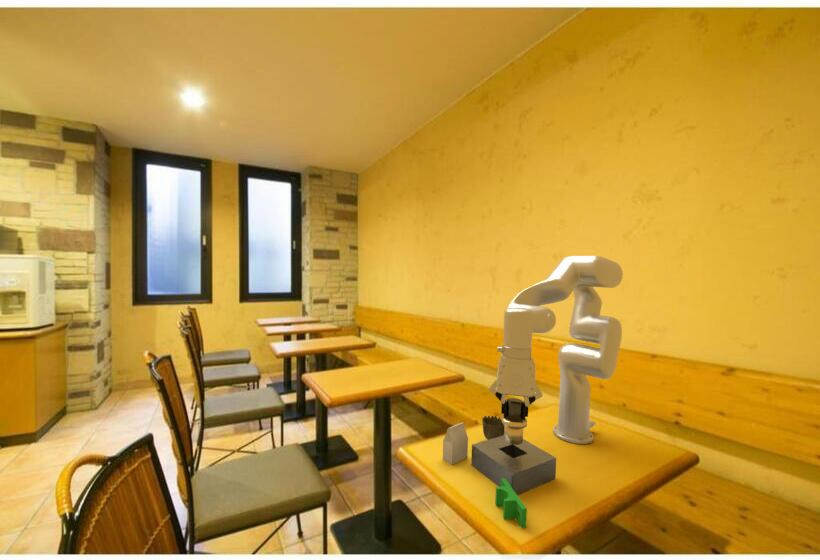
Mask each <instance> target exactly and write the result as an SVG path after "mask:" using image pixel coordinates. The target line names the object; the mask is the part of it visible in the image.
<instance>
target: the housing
mask: <svg viewBox="0 0 820 560" xmlns="http://www.w3.org/2000/svg"><path fill="white" fill-rule="evenodd" d="M470 461H471V463H470V464H471V466H472V467H473V468H474V469H476V470H477V471H478V472H480V473H481V474H482V475H483V476H485V477H486V478H487V479H489V481H491V482H493V483H494V484H495V485H496V486H497V487H501V479H503V478H505V479H506V480H507V482H508V483H509V484H510V486H511V487H512V489H513V490H514V491H515V493H516V494H517V496H519V495H522V494H525V493H526V492H529V491H532V490H533V489H536V488H538V487H540V486H543V485H545V484H548V483H550V482H553V481H555V480H556V477H557V476H556V475H557V474H556V472H557V471H556V470H557V457H555V456H554V455H552V454H551V453H549V452H547V451H546V450H544V449H542V448H540V447H538V446H537V445H534V444H533V443H531V442H529V441H528V440H526V439H524V438H523V443H522V444H520V445H513V444H509V443H507V442H506V441H505V440H504V435H503V436H499V437H496V438H493V439H489V440H487V439H486V440H483V441H480V442H476V443H473V444H471V460H470Z"/></svg>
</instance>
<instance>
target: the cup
mask: <svg viewBox="0 0 820 560" xmlns="http://www.w3.org/2000/svg"><path fill="white" fill-rule="evenodd" d="M481 419H482V420H481V422H482V432H483V436H484V437H485V439H486V440H489V439H493V438H496V437H499V436H503V435H504V428H505V425H503V424H502V422H501V419H502V418H501V417H500V416H498V417H497V415H491V416H490V415H488V416H486V415H484V416H483V417H482V418H481Z"/></svg>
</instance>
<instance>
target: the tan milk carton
mask: <svg viewBox="0 0 820 560" xmlns="http://www.w3.org/2000/svg"><path fill="white" fill-rule="evenodd" d="M468 444H469V438H468V433H467V429H466V427H465V422H460V423H457V424H455V425H453V426H450V427H448V428H447V430H446V433H445V435H444V437H443V439H442V460H443V461H444V462H446V463H448V464H449V465H452V466H453V465H455V464H457V463H458V462H461V461H462V460H464V459H467V458H468V453H469V451H468V450H469V449H468V448H469V445H468Z"/></svg>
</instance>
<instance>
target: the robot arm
mask: <svg viewBox="0 0 820 560" xmlns="http://www.w3.org/2000/svg"><path fill="white" fill-rule="evenodd" d="M623 277H624V273H623V270H622V266H620V264H619V263H618V262H616V261H614V260H611V259H608V258H607V257H603V256H599V255H568V256H565V257H563V258H562V259H561V260H560V261H559V262H558V263H557V264H556V265H555V267H554V268H553V269H552V271H551V272H550V273H549V274H548V275H547V276H546V278H545V279H544V280H542V281H540V282H537V283H535V284H532V285H531V286H528V287H527V288H525V289H523V290H522V291H519V292H518V293H517V294H516V295H515V296H514V297H513V298H512V300H510V302H509V304H508V306H507V307H506V309H504V314H503V334H502V335H503V337H502V338H503V339H502V346H497V352H499V353H501V355H500V356H499V359H498V364H497V370H496V371H497V373H496V379H495V380H494V381H493V382H492V384H491V385H490V386H489V388H488V391H489V392H490V393H491V394H493V395H495V397H496V398H497V399H498V400H499V401H500V404H501V406H500V407H501V410H500V411H501V412H500V414H502V415H504V418H506V414H507V397H508V396H514V397H515V396H516V397H523V417H522V420H523V421H525V418H528V417H529V407H530V406H531V405H532V404H533V403H534V402H535V401H536V400H538V399H541V398H542V397H543V395H544V394H543V392H542V391H541V390H540V388H539V387H538V385H537V384H536V381H537V379H536V365H535V364H536V363H535V359H534V358H533V357H532V342H533V341H532V340H533V334H546V333H550V332H551V331H553V329H554V327H555V325H556V324H557V323H556V322H557V318H556V314H555V312H554V311H553V310H552V309H550V308H548V307H547V306H544V305H550V304H555V303H559V302H563V301H565V300H567V299H568V298H569V297H570V295H571V294H572V293H573V295H574V296H573V297H574V303H573V308H572V314H571V317H570V322H569V328H568V329H569V331H568V332H569V335H570V337H571V338H572V339H574V340H577V341H582V342H585V343H586V342H587V343H592V344H596V345H599V346H600V347H597V346H596V347H595V346H590V345H585V344H581V343H575V342H574V343H573V342H568V343H567V342H566V343H564V344H563V345H561V347H560V348H559V350H558V353H557V354H558V357H557V358H558V365H559V379H560V381H559V397H558V398H559V399H558V401H559V403H558V423H557V424H556V425H554V426H553V429H552V432H553V434H554V435H555V436H556V437H557V438H559V439H560V440H562V441H566V442H568V443H573V444H577V445H578V444H579V445H587V444H590V443H592V442H593V441H594V434H593V433H592V432H591V431H590V430H591V428H593V427H595V426H596V424H597V423H596V421H595V420H593V419H591V420H590V413H591V412H590V411H591V410H590V409H591V408H590V407H591V392H592V391H591V390H592V389H591V383H590V381H589V379H588V377H593V378H596V379H597V378H598V379H601V380H609V379H611V378H612V377H613V376H614V375H615V372H616V369H617V364H618V359H619V353H620V349H621V342H622V336H623V328H622V324H621V322H620V321H619V320H618V319H617V318H615V317H614V316H613V317H612V316H608V315H601V310H602V304H603V302H602V298H601V296H600V295H599V293H598V292H597V290H596V289H595V288H605V289H606V288H608V289H611V288H612V289H613V288H616V287H618V286H619V285H620V284H621V282H622V281H623ZM587 376H588V377H587Z"/></svg>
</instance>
